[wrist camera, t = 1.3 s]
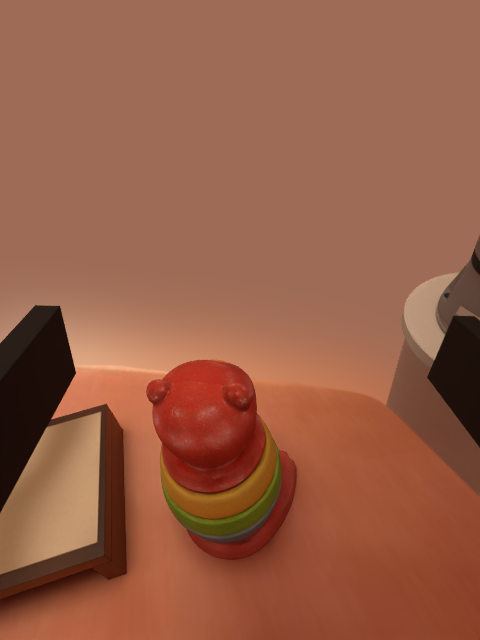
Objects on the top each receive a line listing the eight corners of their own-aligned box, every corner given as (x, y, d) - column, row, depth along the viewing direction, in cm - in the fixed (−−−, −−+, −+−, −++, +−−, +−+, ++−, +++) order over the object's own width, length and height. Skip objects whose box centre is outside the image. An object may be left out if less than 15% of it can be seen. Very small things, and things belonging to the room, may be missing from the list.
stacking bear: (299, 457, 35) (298, 325, 23) (284, 578, 28) (272, 477, 16) (196, 439, 38) (149, 313, 26) (158, 546, 31) (70, 439, 19)
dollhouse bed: (122, 429, 40) (87, 372, 33) (126, 573, 29) (76, 531, 23) (-29, 474, 38) (-99, 422, 31) (-82, 646, 27) (-204, 623, 21)
